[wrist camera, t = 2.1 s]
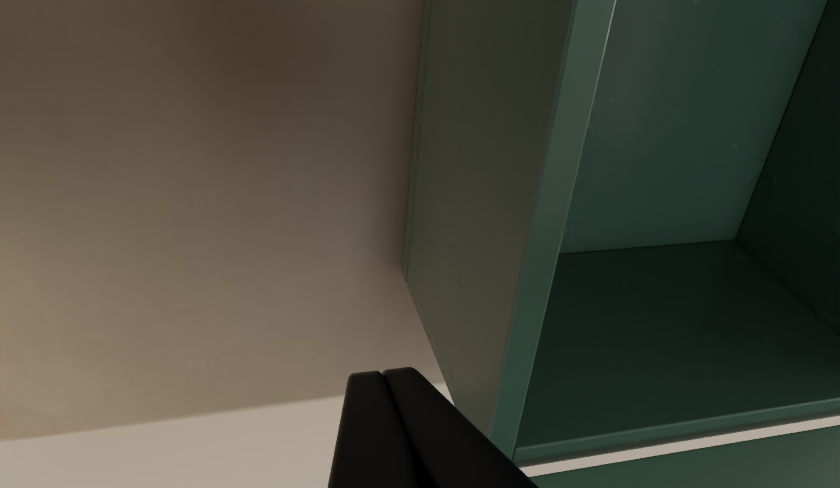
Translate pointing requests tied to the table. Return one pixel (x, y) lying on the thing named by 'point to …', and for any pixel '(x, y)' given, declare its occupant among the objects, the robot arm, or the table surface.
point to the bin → (628, 218)
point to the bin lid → (722, 466)
